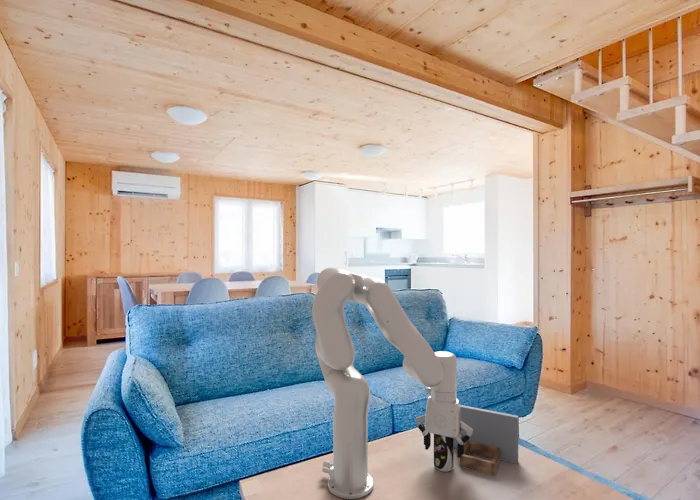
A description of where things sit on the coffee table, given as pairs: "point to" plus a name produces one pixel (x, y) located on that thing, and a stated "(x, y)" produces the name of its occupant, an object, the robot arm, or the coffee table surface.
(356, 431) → the robot arm
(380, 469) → the coffee table surface
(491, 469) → the brown wooden open box
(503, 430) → the wall board
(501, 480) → the coffee table surface
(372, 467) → the coffee table surface
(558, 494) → the coffee table surface
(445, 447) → the beverage can
